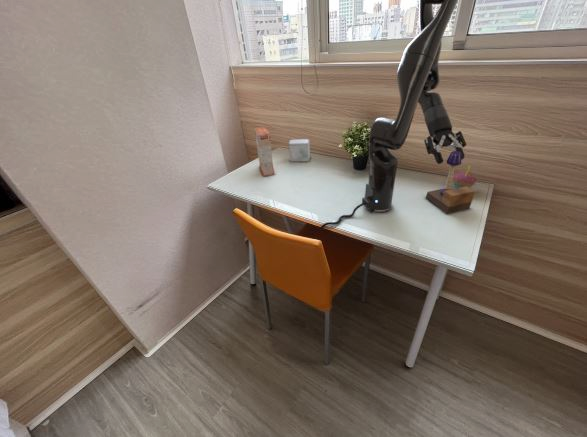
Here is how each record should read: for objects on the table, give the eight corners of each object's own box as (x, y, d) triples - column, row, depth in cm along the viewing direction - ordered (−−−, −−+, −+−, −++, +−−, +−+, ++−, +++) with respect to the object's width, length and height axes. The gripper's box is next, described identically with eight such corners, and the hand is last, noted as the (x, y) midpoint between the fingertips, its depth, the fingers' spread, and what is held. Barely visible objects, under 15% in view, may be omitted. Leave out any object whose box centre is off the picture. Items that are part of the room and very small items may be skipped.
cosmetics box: (290, 161, 150) (288, 143, 144) (292, 157, 155) (290, 139, 149) (308, 161, 148) (307, 142, 142) (310, 157, 153) (309, 138, 147)
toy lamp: (446, 198, 102) (458, 155, 92) (435, 193, 105) (446, 151, 96) (455, 194, 103) (467, 152, 94) (444, 189, 107) (455, 148, 97)
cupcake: (475, 194, 107) (485, 166, 100) (452, 194, 109) (460, 166, 102) (468, 184, 114) (477, 157, 107) (446, 184, 116) (453, 157, 109)
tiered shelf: (446, 213, 98) (451, 196, 94) (425, 198, 108) (429, 181, 104) (469, 208, 100) (475, 191, 96) (446, 194, 110) (451, 177, 105)
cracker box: (275, 174, 137) (269, 133, 125) (263, 176, 136) (256, 135, 125) (270, 164, 149) (265, 125, 137) (259, 166, 148) (253, 127, 136)
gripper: (426, 118, 96) (440, 160, 93) (461, 112, 98) (476, 153, 95) (414, 129, 103) (427, 168, 100) (447, 123, 105) (461, 162, 102)
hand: (451, 161), depth 98 cm, fingers open, 8 cm apart
